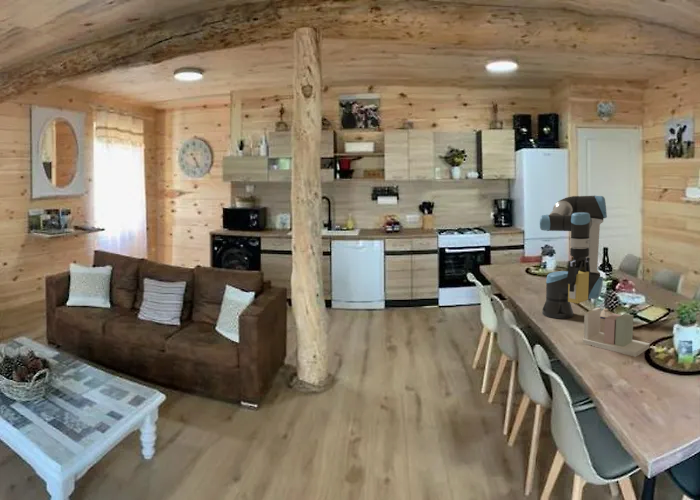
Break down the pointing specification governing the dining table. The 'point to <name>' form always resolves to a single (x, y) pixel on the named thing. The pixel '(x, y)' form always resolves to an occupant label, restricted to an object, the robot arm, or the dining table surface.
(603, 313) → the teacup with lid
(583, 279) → the book
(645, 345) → the block stand tray
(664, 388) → the dining table surface
